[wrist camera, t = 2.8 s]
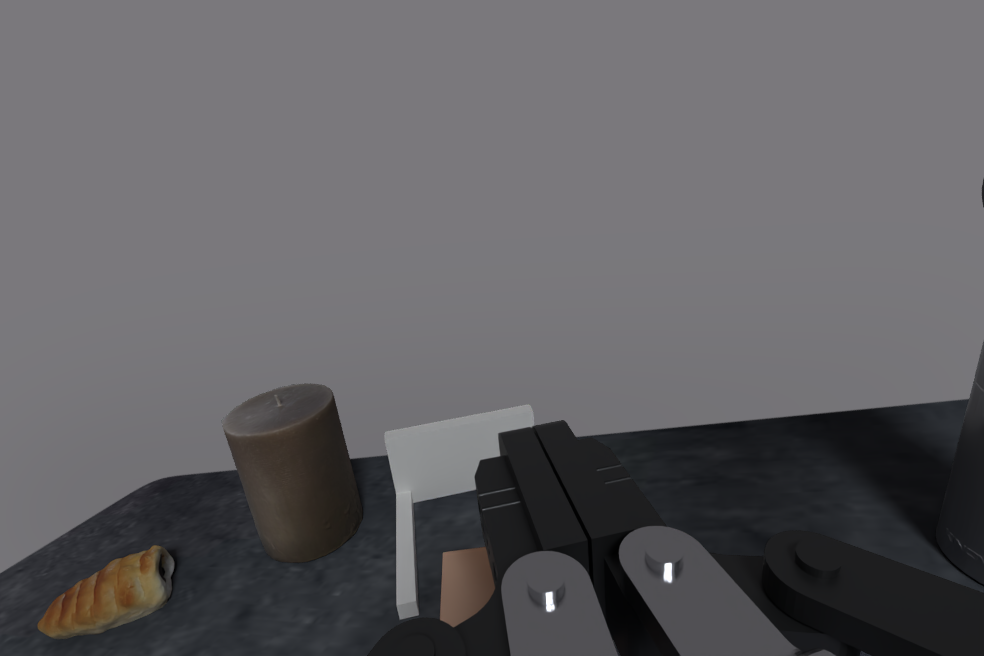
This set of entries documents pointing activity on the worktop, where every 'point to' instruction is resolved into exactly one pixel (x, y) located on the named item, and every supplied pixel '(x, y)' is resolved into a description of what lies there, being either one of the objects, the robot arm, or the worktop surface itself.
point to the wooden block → (465, 584)
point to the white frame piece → (439, 476)
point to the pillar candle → (295, 471)
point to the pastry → (112, 596)
